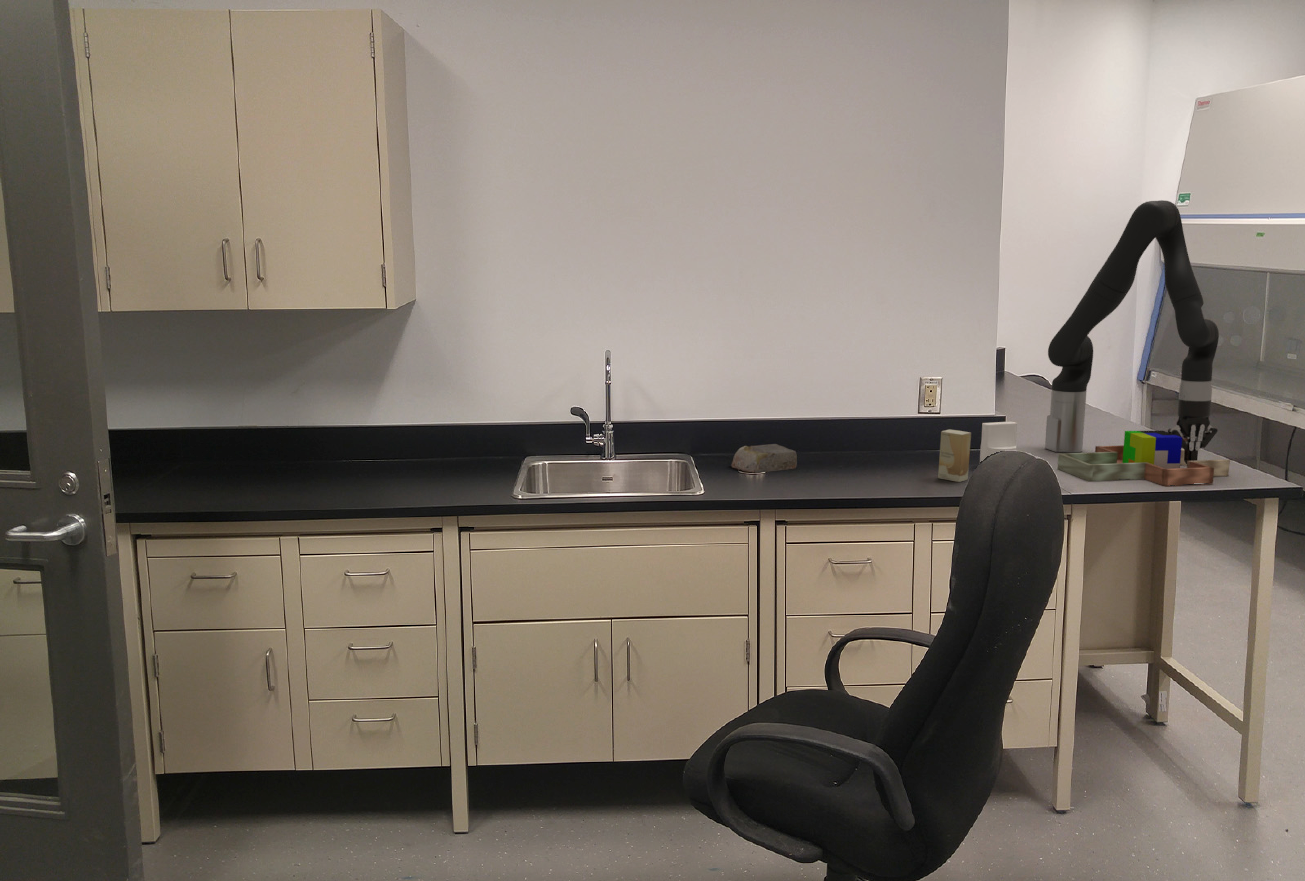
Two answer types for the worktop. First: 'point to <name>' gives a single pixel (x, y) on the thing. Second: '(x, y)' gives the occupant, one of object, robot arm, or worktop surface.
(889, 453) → the worktop surface
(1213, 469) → the open sectioned tray
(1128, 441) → the puzzle toy
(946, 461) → the skincare box
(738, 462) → the geological specimen
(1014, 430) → the base with upright slab
